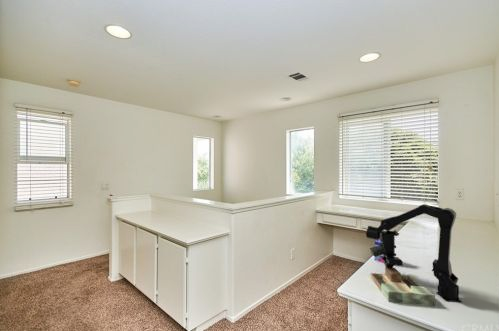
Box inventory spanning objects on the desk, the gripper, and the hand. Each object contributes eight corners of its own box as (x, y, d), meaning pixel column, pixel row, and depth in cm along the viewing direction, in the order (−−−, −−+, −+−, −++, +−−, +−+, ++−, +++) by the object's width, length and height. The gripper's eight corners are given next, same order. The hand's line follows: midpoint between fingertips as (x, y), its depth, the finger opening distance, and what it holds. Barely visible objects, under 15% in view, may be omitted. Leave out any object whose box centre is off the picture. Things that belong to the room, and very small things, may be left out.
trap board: (408, 280, 120) (408, 271, 120) (434, 305, 98) (434, 295, 98) (370, 277, 123) (370, 269, 123) (388, 301, 101) (388, 291, 101)
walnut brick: (394, 275, 120) (394, 267, 120) (401, 282, 113) (401, 274, 113) (385, 275, 121) (385, 267, 121) (391, 281, 114) (391, 273, 114)
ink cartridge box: (374, 260, 146) (374, 237, 146) (377, 258, 149) (377, 235, 149) (391, 265, 138) (391, 241, 138) (395, 263, 142) (395, 239, 142)
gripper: (366, 236, 133) (366, 263, 133) (378, 247, 115) (378, 279, 115) (387, 237, 131) (387, 265, 131) (403, 248, 113) (403, 281, 113)
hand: (388, 272), depth 122 cm, fingers closed
